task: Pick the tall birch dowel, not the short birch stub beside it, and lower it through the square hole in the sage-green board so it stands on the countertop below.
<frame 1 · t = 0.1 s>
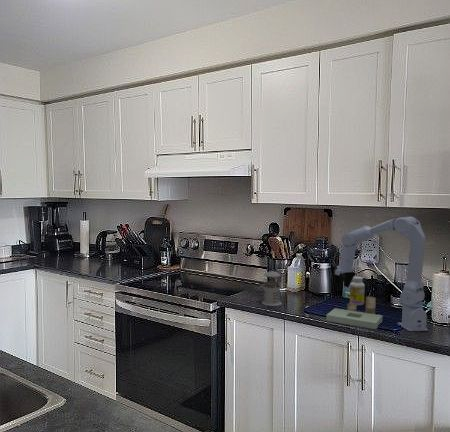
hand: (342, 288, 192), 10 cm above the worktop, tool pointing down, fingers open, 7 cm apart
supplement bottle: (356, 304, 205), on the worktop
hole board: (354, 321, 178), on the worktop
short stub: (351, 313, 190), on the worktop
french press: (272, 302, 206), on the worktop
tall dowel: (370, 316, 186), on the worktop
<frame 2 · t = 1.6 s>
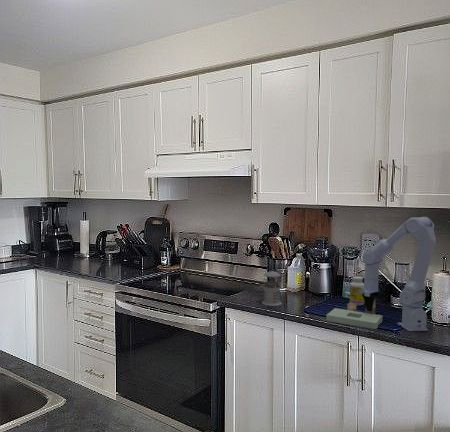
hand: (370, 309, 186), 3 cm above the worktop, tool pointing down, fingers closed on tall dowel, 4 cm apart
tall dowel: (370, 316, 186), on the worktop, touching gripper
everything else where it was.
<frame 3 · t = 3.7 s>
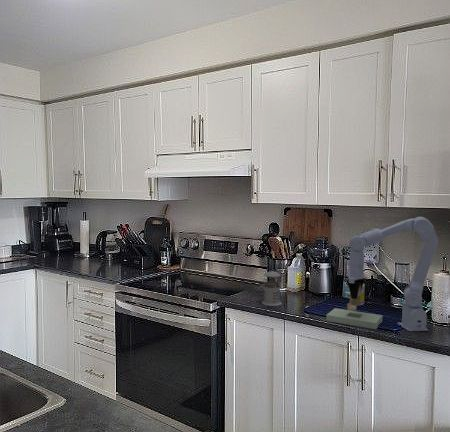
hand: (355, 297, 178), 10 cm above the worktop, tool pointing down, fingers closed on tall dowel, 4 cm apart
tall dowel: (355, 304, 178), point 7 cm above the worktop, touching gripper
everything else where it was.
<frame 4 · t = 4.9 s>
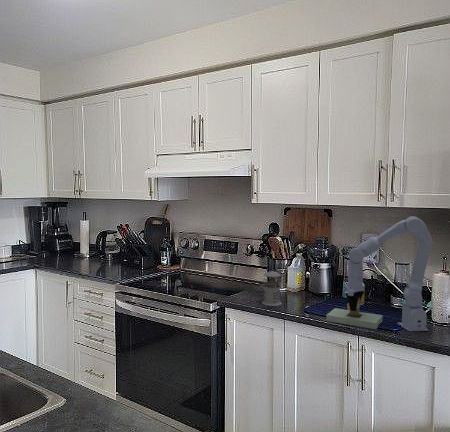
hand: (354, 309, 178), 5 cm above the worktop, tool pointing down, fingers closed on tall dowel, 4 cm apart
tall dowel: (354, 316, 178), point 2 cm above the worktop, touching gripper
everything else where it was.
when the fingers open (3 cm above the worktop, at t = 5.7 s): tall dowel stays where it is, resting in hole board.
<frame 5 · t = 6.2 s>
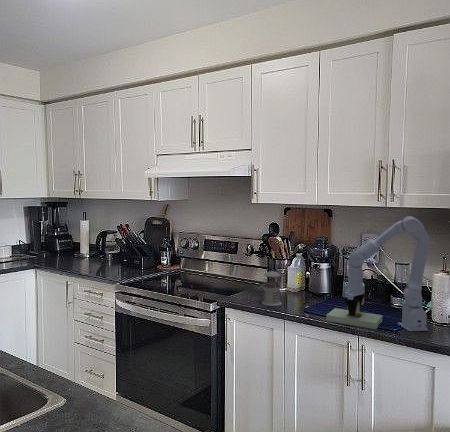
hand: (354, 313, 178), 3 cm above the worktop, tool pointing down, fingers open, 7 cm apart
tall dowel: (354, 321, 178), resting in hole board
everything else where it was.
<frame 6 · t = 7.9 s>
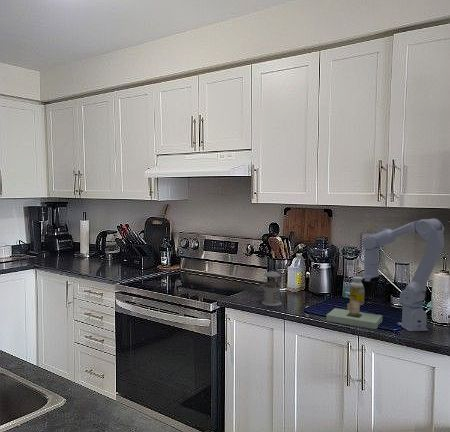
hand: (370, 294, 185), 9 cm above the worktop, tool pointing down, fingers open, 7 cm apart
nothing on the worktop moved.
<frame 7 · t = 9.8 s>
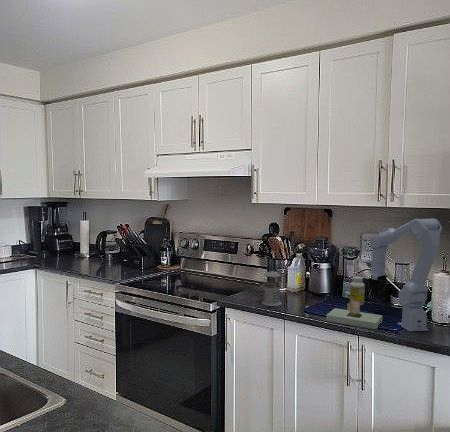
hand: (377, 293, 188), 9 cm above the worktop, tool pointing down, fingers open, 7 cm apart
nothing on the worktop moved.
at the end: tall dowel 0.0 cm off-centre on the hole board, point 0.0 cm above the hole board's base; tall dowel tilted 1°; short stub moved 0.1 cm from its start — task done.
